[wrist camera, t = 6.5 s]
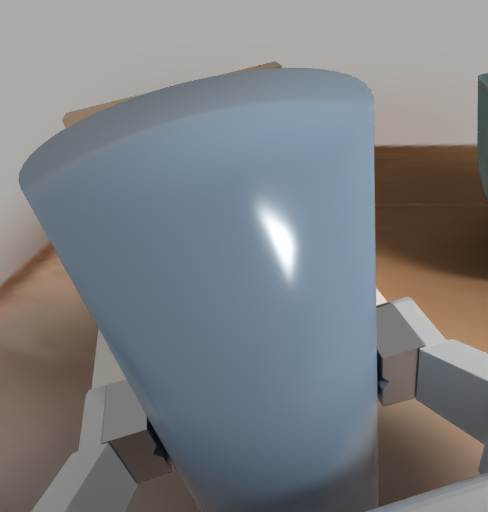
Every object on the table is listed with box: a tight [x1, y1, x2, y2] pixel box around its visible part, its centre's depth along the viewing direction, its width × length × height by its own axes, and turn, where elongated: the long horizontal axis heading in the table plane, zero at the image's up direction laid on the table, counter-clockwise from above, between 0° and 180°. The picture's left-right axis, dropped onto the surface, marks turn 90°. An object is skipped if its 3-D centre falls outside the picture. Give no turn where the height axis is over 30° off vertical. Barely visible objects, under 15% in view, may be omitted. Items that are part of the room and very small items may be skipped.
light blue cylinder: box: [19, 68, 379, 512], centre depth 10 cm, size 5×5×14 cm
